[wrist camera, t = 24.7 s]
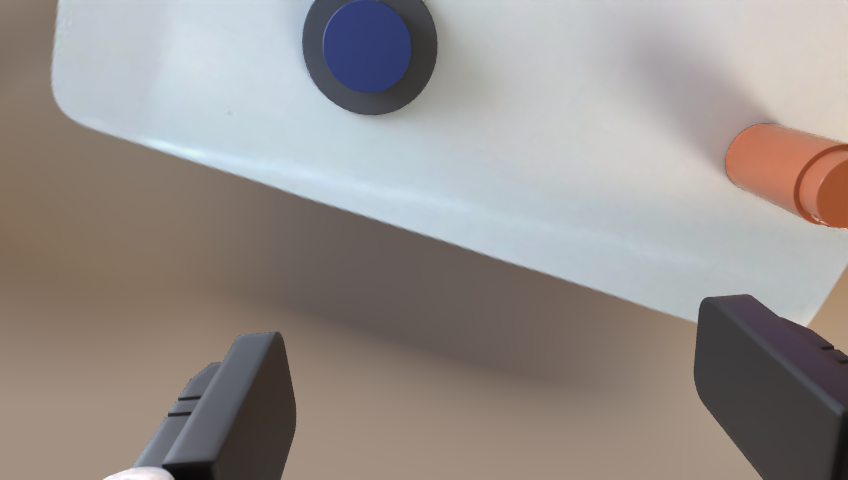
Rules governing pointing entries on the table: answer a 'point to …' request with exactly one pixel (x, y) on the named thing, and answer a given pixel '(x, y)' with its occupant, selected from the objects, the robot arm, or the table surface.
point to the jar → (793, 171)
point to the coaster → (394, 97)
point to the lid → (367, 46)
